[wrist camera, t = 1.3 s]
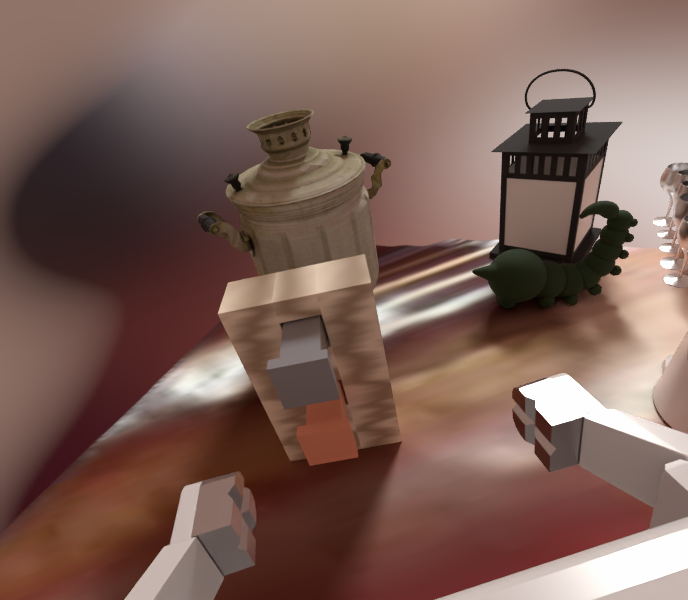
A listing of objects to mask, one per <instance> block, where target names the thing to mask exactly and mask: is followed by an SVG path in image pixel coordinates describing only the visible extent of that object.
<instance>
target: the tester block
mask: <svg viewBox="0 0 688 600" xmlns="http://www.w3.org/2000/svg"><path fill="white" fill-rule="evenodd" d="M218 315H219V317H220V319H221V322H222V324H223V326H224V328H225V330H226V332H227V334H228V336H229V338H230V340H231V342H232V344H233V346H234V348H235V350H236V352H237V354H238V356H239V358H240V360H241V362H242V364H243V366H244V368H245V370H246V372H247V374H248V376H249V378H250V380H251V382H252V384H253V386H254V388H255V390H256V392H257V395H258V397H259V399H260V401H261V403H262V405H263V407H264V409H265V411H266V413H267V415H268V417H269V419H270V421H271V423H272V425H273V427H274V429H275V431H276V433H277V435H278V437H279V439H280V441H281V443H282V445H283V447H284V449H285V451H286V453H287V455H288V457H289V459H290V461H296V460H302V459H306V456H305V454H304V452H303V450H302V448H301V445H300V443H299V441H298V439H297V436H296V435H297V427H298V426H303V425H306V405H305V406H300V407H295V408H290V409H284V407H283V405H282V403H281V401H280V398H279V396H278V394H277V392H276V390H275V387H274V385H273V383H272V381H271V378H270V376H269V374H268V372H267V363H268V360H273V359H278V358H280V349H281V339H282V329H283V322H288V321H293V320H298V319H303V318H308V317H313V316H318V315H322V317H323V320H324V324H325V327H326V330H327V334H328V353H329V357H330V360H331V363H332V366H333V370H334V373H335V376H336V379H337V380H341V381H342V384H343V388H344V391H345V401H346V413H347V417H348V419H349V422H350V425H351V428H352V432H353V435H354V438H355V441H356V445H357V448H358V449H363V448H369V447H374V446H380V445H385V444H391V443H397V442H402V440H401V435H400V430H399V425H398V420H397V414H396V409H395V404H394V399H393V394H392V388H391V383H390V378H389V373H388V367H387V362H386V357H385V352H384V347H383V341H382V336H381V331H380V326H379V321H378V315H377V310H376V305H375V300H374V294H373V289H372V284H371V279H370V275H369V271H368V266H367V262H366V258H365V254H362V255H358V256H353V257H348V258H343V259H339V260H334V261H329V262H324V263H319V264H315V265H310V266H305V267H300V268H296V269H291V270H286V271H281V272H277V273H272V274H267V275H262V276H258V277H253V278H248V279H243V280H239V281H234V282H229V283H228V285H227V288H226V291H225V294H224V297H223V300H222V303H221V306H220V309H219V312H218Z"/></svg>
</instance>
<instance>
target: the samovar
mask: <svg viewBox="0 0 688 600" xmlns="http://www.w3.org/2000/svg"><path fill="white" fill-rule="evenodd" d="M313 113H314V111H313V110H311V109H295V110H289V111H284V112H280V113H276V114H272V115H269V116H266V117H263V118H260V119H258V120H256V121H253V122H252V123H250V124H249V125H248V126H247V129H248V130H249V131H252V132H254V133H256V134H257V135H258V137H259V139H260V138H261V140H262V142H261V140H260V142H261V148H262V149H263V150H264V151H265V152H267V153H268V154H269V157H268V158H266V159H265V160H264V161H263V162H262V163H261V164H259V165H256V166H254V167H252V168H250V169H249V170H247V171H246V172H243V173H242V174H241V175H239V173H234V174H230V175H229V176H228V177H227V178H226V179H225V180H224V181H225V182H227V183H229V185H228V187H227V189H226V196H227V197H228V198H229V199H230V201H231V202H232V203H233V205H234V206H235V207H236V208H237V209H238V211H239V213H240V225H241V229H242V231H241V233H239V232H238V230H235V229H234V228H233V227H232V226H231V225H230V224H228V223H227V222H226V221H225V220H223V219H221V217H220V216H219V215H217V214H216V213H214V212H203V213H201V214H200V215H199V216H198V218H197V221H198V223H200V224H201V227H202V228H203V230H204V231H205V232H209V233H210V234H212V235H220V236H221V237H223V238H225V239H227V240H228V241H229V242H230V244H231V246H233V247H235V248H236V249H238V250H239V251H242V252H249V253H250V255H251V256H252V259H253V261H254V264H255V267H256V270H257V273H258V275H259V276H262V275H267V274H272V273H277V272H281V271H286V270H291V269H296V268H300V267H305V266H310V265H315V264H319V263H324V262H329V261H334V260H339V259H343V258H348V257H353V256H358V255H362V254H365V258H366V262H367V266H368V271H369V275H370V279H371V284H372V289H374V288H375V285H376V283H377V278H378V273H379V269H378V260H377V253H376V246H375V238H374V232H373V224H372V217H371V210H370V203H369V199H371V198H373V196H375V195H376V193H377V191H378V189H379V188H380V187H381V186H382V183H381V172H382V171H383V169H387V168H389V167H390V165H391V161H390V160H389V159H387V158H385V157H383V156H381V155H380V154H378V153H375V154H371V153H366V152H365V153H361V154H360V155H358V154H355V153H352V152H348V150H349V144H350V142H351V141H352V138H349V137H346V136H344V137H342V138H339V139H337V140H338V142H339V143H340V144H341V150H342V151H341V150H320V149H315V148H312V147H309V146H308V143H309V140H310V137H311V131H310V126H309V122H308V121H309V119H310V117H311V116H312V115H313ZM267 138H268V140H267ZM365 162H367V163H369V164H371V165H372V166H373V167H375V171H374V174H373V175H372V176H371V180H372V188H371V189H369V190H366V188H365V187H364V186H363V182H364V177H365V167H366V163H365Z"/></svg>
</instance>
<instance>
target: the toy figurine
mask: <svg viewBox="0 0 688 600" xmlns="http://www.w3.org/2000/svg"><path fill="white" fill-rule="evenodd" d="M593 214H599V215H601V216H602V217H604V218H607V219H608V220H607V225H606V226H605V227H604V228H603V229H602V230H601V232H600V239H599V240H598V241H596V243H595V244H594V246H593V249H592V252H590V253H589V254H588V255H587V256H586V257H585V259H584V261H580V262H577V263H575V264H571V263H563V264H559V265H558V264H557V263H554V262H551V261H542V260H541V259H540V258H539V257H538V256H537V255H536V254H534V253H533V252H531V251H528V250H524V249H511V250H508V251H505V252H503V253H501V254H500V255H498V256H497V257H496V258H495V259H494V260H493V262H492V263H491V265H489V266H485V267H482V268H478V269H475V270H473V271H472V272H473V273H474V274H476V275H478V276H480V277H482V278H484V279H486V280H488V282H489V285H490V287H491V289H492V291H493V292H494V293H495V294H496V297H497V301H498V303H499V305H500V306H502V307H503V308H504V309H510V308H512V307H514V306H515V304H516V302H524V301H527V300H530V299H532V298H534V297H537V298H539V304H540V305H541V306H543V307H545V308H548V307H551V306H552V305H553V304H554V301H555V298H554V297H556V296H559V297H564V298H565V301H566V303H567V304H569V305H574V304H576V303H577V301H578V297H577V294H579V293H580V292H581V291H582V290H586V289H588V292H589V293H590V294H592V295H598V294H600V293H601V291H602V287H601V286H600V285H599V284H598V282H599V281H600V279H601V277H602V276H605V275H607V274H609V273H610V274H611V275H613V276H614V275H619V274H620V273H621V268H620V267H619V266H617V265H615V260H616V259H617V258H618V257H619V258H621V259H625V258H627V257H628V255H629V253H628V252H627V251H626V250H623V246H622V244H623V243H624V242H631V241H633V239H634V236H633V235H632V234H629V230H628V229H629V228H630V227H634V226H636V225H637V223H638V221H637V219H633V216H632V215H631V214H630V213H629V212H628V211H625V210H619V207H618V206H617V205H616V204H615V203H613V202H610V201H599V202H596V203H593V204H591V205H589V206H588V207H586V208H585V209H584V210H583V211H582V212H581V214H580V216H579V217H580V219H583V218H585V217H587V216H589V215H593Z"/></svg>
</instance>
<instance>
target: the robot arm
mask: <svg viewBox="0 0 688 600" xmlns="http://www.w3.org/2000/svg"><path fill="white" fill-rule="evenodd" d="M662 368H663V374H662V376H661V377H660V379H659V380H658V381H657V382H656V384H655V386H654V389H653V400H654V404H655V406H656V408H657V410H658V412H659V414H660V415H661V416H662V418H663V419H664V420H665V421H666V422H667V423H668V424H669V425H670V426H671V427H672V428H673V429H671V428H668V427H665V426H662V425H660V424H657V423H654V422H651V421H648V420H645V419H642V418H639V417H636V416H634V415H631V414H628V413H625V412H622V411H619V410H616V409H613V408H612V409H608V410H607V409H606V408H605V407H604V406H603V405H602V404H601V403H599V402H598V401H597V400H596V399H595V398H594V397H593V396H591V395H590V394H589V393H588V392H587V391H586V390H585V389H583V388H582V387H581V386H580V385H579V384H578V383H577V382H576V381H574V380H573V379H572V378H571V377H570V376H569V375H568V374H565V373H560V374H557V375H553V376H550V377H547V378H543V379H540V380H537V381H534V382H530V383H527V384H524V385H521V386H518V387H515V388H514V389H513V391H512V398H513V399H514V401H515V402H516V405H515V406H514V408H513V409H512V410H513V419H514V422H515V425H516V428H517V430H518V431H519V433H520V435H521V436H522V437H523V439H524V440H525V441H527V442H529V443H531V444H533V445H535V454H536V456H537V457H538V458H539V459H540V461H541V462H542V463H543V465H544V466H545V467H546V468H547V470H548V471H549V472H553V471H556V470H560V469H563V468H567V467H570V466H574V465H577V464H579V466H580V467H582V468H584V469H586V470H587V471H589V472H591V473H593V474H595V475H596V476H598V477H600V478H602V479H603V480H605V481H607V482H609V483H610V484H612V485H614V486H616V487H617V488H619V489H621V490H623V491H625V492H626V493H628V494H630V495H632V496H633V497H635V498H637V499H639V500H640V501H642V502H644V503H646V504H647V505H649V506H651V507H653V508H654V509H653V513H652V517H651V521H650V526H649V530H646V531H643V532H639V533H636V534H633V535H630V536H627V537H624V538H621V539H618V540H615V541H612V542H609V543H606V544H603V545H600V546H597V547H594V548H591V549H588V550H585V551H582V552H579V553H576V554H573V555H569V556H566V557H563V558H560V559H557V560H554V561H551V562H548V563H545V564H542V565H539V566H536V567H533V568H530V569H527V570H524V571H521V572H518V573H515V574H512V575H509V576H506V577H502V578H499V579H496V580H493V581H490V582H487V583H484V584H481V585H478V586H475V587H472V588H469V589H466V590H463V591H460V592H457V593H454V594H451V595H448V596H445V597H442V598H438V599H435V600H688V331H687V333H686V334H685V336H684V338H683V339H682V341H681V343H680V344H679V346H678V348H677V349H676V351H675V353H674V355H669V356H667V357H666V358H665V360H664V361H663V365H662ZM255 525H256V507H255V501H254V498H253V495H252V493H251V491H250V489H248V488H246V487H244V478H243V476H242V474H241V472H240V471H237V472H233V473H230V474H226V475H222V476H219V477H215V478H211V479H208V480H204V481H201V482H198V483H194V484H191V485H187V486H185V487H184V489H183V490H182V492H181V496H180V501H179V505H178V509H177V514H176V518H175V523H174V527H173V532H172V536H171V540H170V545H167V546H164V547H163V549H162V550H161V551H160V553H159V554H158V555H157V557H156V558H155V559H154V561H153V562H152V563H151V565H150V566H149V567H148V569H147V570H146V571H145V573H144V574H143V575H142V577H141V578H140V579H139V581H138V582H137V583H136V585H135V586H134V587H133V589H132V590H131V591H130V593H129V594H128V595H127V597H126V598H125V599H124V600H214V598H215V596H216V594H217V592H218V590H219V588H220V586H221V584H222V582H223V580H224V577H223V576H225V575H228V574H231V573H234V572H237V571H240V570H243V569H245V568H248V567H251V566H254V565H255V552H256V539H255V538H254V536H253V534H252V530H253V529H254V527H255Z"/></svg>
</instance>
